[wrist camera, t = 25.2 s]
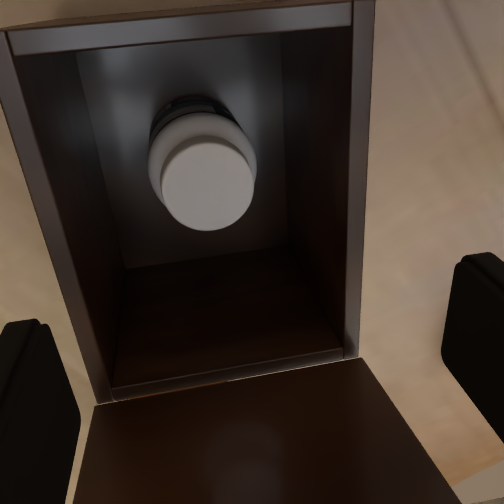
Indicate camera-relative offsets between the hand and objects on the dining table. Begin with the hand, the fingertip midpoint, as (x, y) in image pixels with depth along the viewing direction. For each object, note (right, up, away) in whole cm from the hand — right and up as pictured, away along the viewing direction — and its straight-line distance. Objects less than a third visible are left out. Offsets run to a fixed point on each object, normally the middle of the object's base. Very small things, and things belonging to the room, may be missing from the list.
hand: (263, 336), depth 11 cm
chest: (-4, +8, +18) cm, 20 cm away
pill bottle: (-4, +9, +17) cm, 19 cm away
